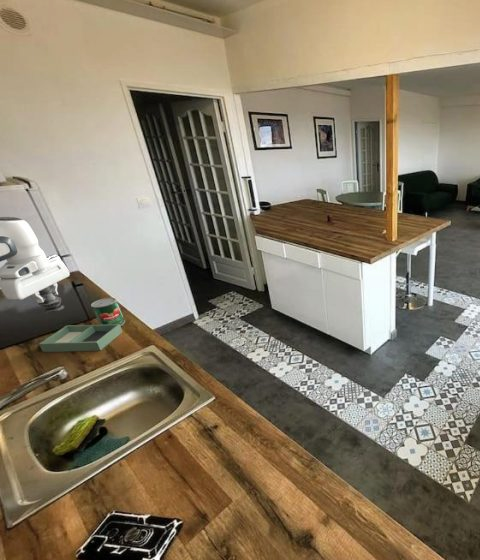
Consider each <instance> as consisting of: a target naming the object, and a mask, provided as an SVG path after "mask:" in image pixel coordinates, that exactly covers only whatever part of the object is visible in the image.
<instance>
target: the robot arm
mask: <svg viewBox="0 0 480 560" xmlns="http://www.w3.org/2000/svg"><path fill="white" fill-rule="evenodd" d="M39 243H40V242H39V239H38V237H37V234H35V232H34V230H33V228H32V227H31V225H30V224H29V223H28V222H27V221H26V220H25V219H22V218H19V217H15V216H0V262H3V261H5V260H6V262H5V263H4V264H3V265H2V266H1V267H0V290H1V291H2V294H3V295H4V297H5V298H6V299H7V300H10V301H22V300H24V299H26V298H28V297H31V298H33V299H34V300H35V301H36V302H37V304H38V303H43V302H45V301H46V299H45V297H41V295H40V293H39V291H40V290H42V289H44V288H46V287H48V286H49V288H50V289H51V290H52V291H51V292H52V294H53V295H54V296H55V297H57V296H59V292H58V286H59V285H58V282H60V281H62V280H64V279H66V278H68V277H70V275H71V274H70V273H71V271H70V270H69V269H68V266H66V264H65V262H63V261H62V259H61V257H60V256H59V255H56V254H50V255H49V256H47V255H46V253H45V251H44V250H43V249H42V248H41V247H40V244H39Z"/></svg>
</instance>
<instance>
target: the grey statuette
mask: <svg viewBox="0 0 480 560" xmlns="http://www.w3.org/2000/svg"><path fill="white" fill-rule="evenodd" d="M51 291H52V290H51V289H50V286H48V287H46V288H44V289H42V290H40V291H39V293H40V294H39V296H41V297H45V299H46V301H45V302H43V303H38V302H37V304H38V305H39V306H40V307H41V308H42V309H45V310H43V313H45V314H51V313H57V312H59V311H61V310H63V309H65V305H63V304H62V297H60V296H54V295H53V294H52V292H51ZM61 304H62V305H61Z"/></svg>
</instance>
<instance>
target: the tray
mask: <svg viewBox="0 0 480 560" xmlns="http://www.w3.org/2000/svg"><path fill="white" fill-rule="evenodd" d="M121 326H122V325H121ZM121 326H120V324H109V325H100V324H76V325H75V324H73V325H65V326H63V327H62V328H61V329H59V330H57V331H56V332H54V333H53V334H51V335H50V336H48V337H47V338H45V339H44V340H42V341H41V342H39V343H38V346H39V347H40V349H41V351H42V352H43V353H62V352H91V351H92V352H93V351H94V352H95V351H102V350H103V349H105V348H106V347H107V346H108V345H109V344H111V342H113V340H115V339H116V338H117V337H119V336H120V335H121V334H122V333H123V328H122V327H121Z"/></svg>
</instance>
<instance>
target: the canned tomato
mask: <svg viewBox="0 0 480 560" xmlns="http://www.w3.org/2000/svg"><path fill="white" fill-rule="evenodd" d="M90 307H91V308H92V310H93V314H94V315H95V317H96V319H97V321H98V324H99V325H109V324H120V326H123V325H124V324H125V323H126V320H125V318H124V317H125V316H124V315H123V313H122V310H121V308H120V306H119V303H118V301H117V299H116V298H115V297H104V298H100V299H98V300H95V301H93V302H92V303H91V304H90Z"/></svg>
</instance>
